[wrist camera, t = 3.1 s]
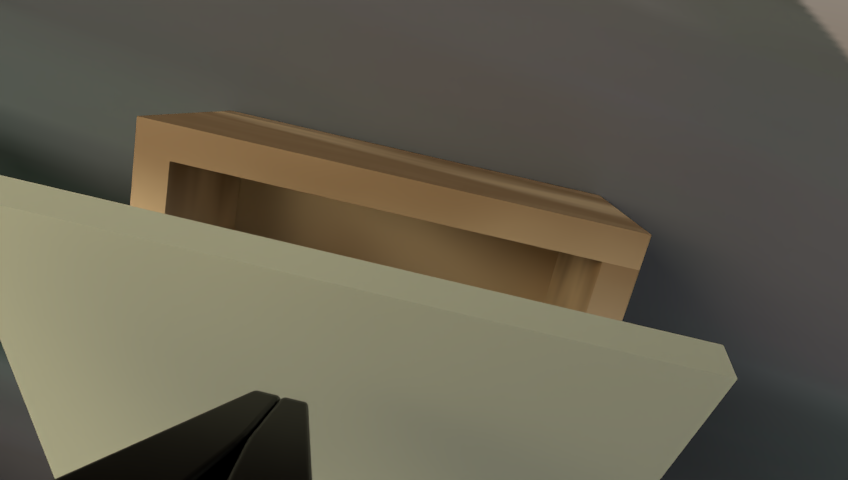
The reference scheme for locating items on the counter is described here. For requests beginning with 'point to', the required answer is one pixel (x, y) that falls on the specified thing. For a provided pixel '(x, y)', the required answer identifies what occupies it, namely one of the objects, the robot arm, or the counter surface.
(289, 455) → the robot arm
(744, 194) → the counter surface
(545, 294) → the box
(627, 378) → the lid
